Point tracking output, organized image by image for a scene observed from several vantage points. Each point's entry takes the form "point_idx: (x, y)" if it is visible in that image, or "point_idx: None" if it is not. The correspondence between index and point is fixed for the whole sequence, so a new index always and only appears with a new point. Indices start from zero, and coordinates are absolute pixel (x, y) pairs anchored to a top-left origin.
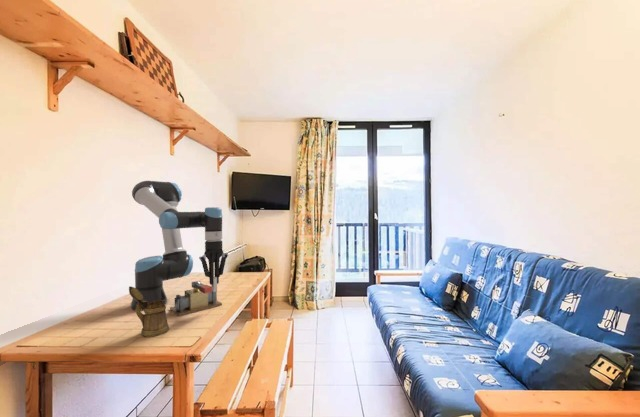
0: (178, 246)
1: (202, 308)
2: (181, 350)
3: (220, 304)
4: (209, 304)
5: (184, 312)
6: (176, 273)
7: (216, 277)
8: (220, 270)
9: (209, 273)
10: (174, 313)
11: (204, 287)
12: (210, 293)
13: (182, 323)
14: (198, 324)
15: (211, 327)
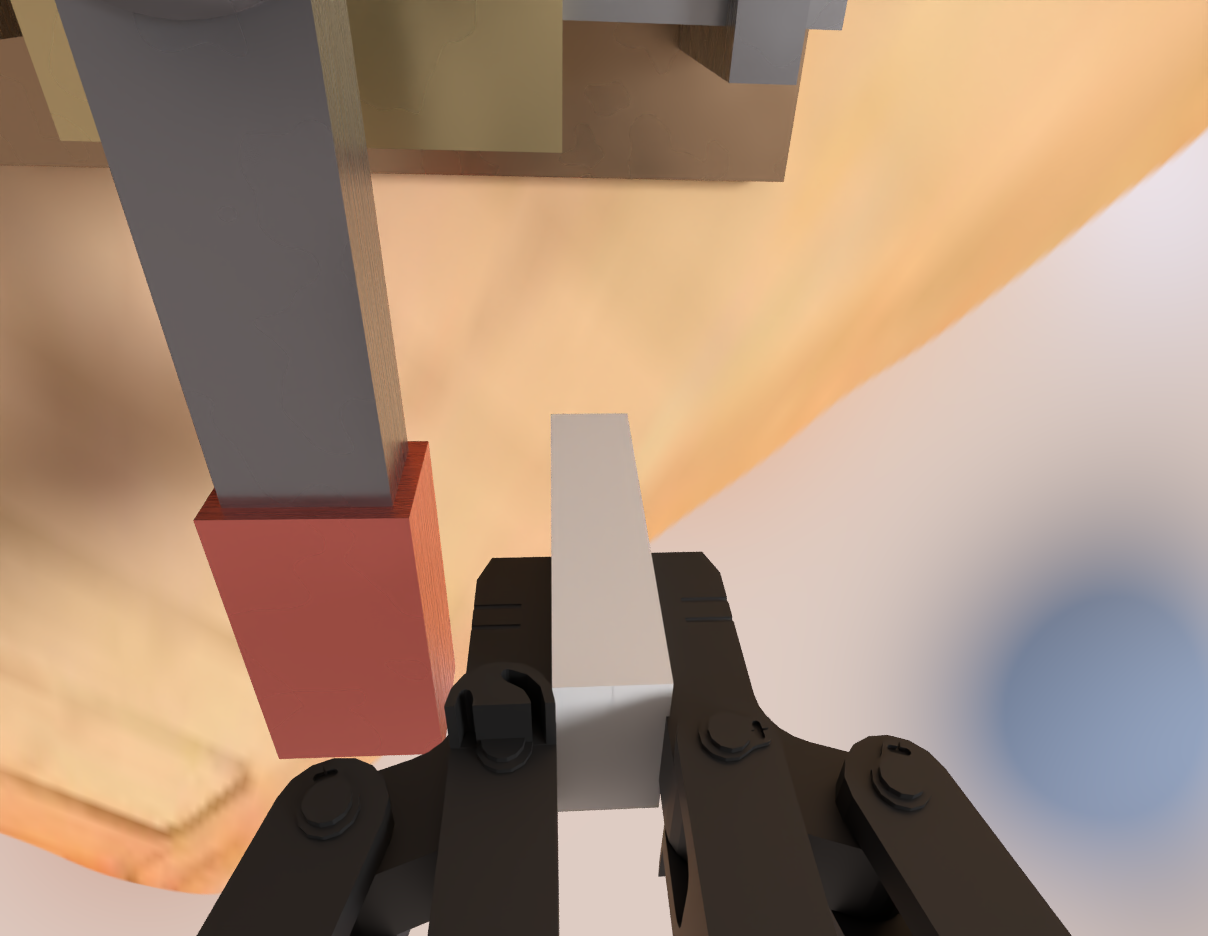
0: None
1: (425, 170)
2: (102, 845)
3: (750, 176)
4: (594, 67)
5: (104, 161)
6: None
7: (641, 807)
8: (963, 905)
9: (444, 884)
10: None
11: (292, 693)
12: (668, 21)
13: (98, 458)
14: None
15: None
